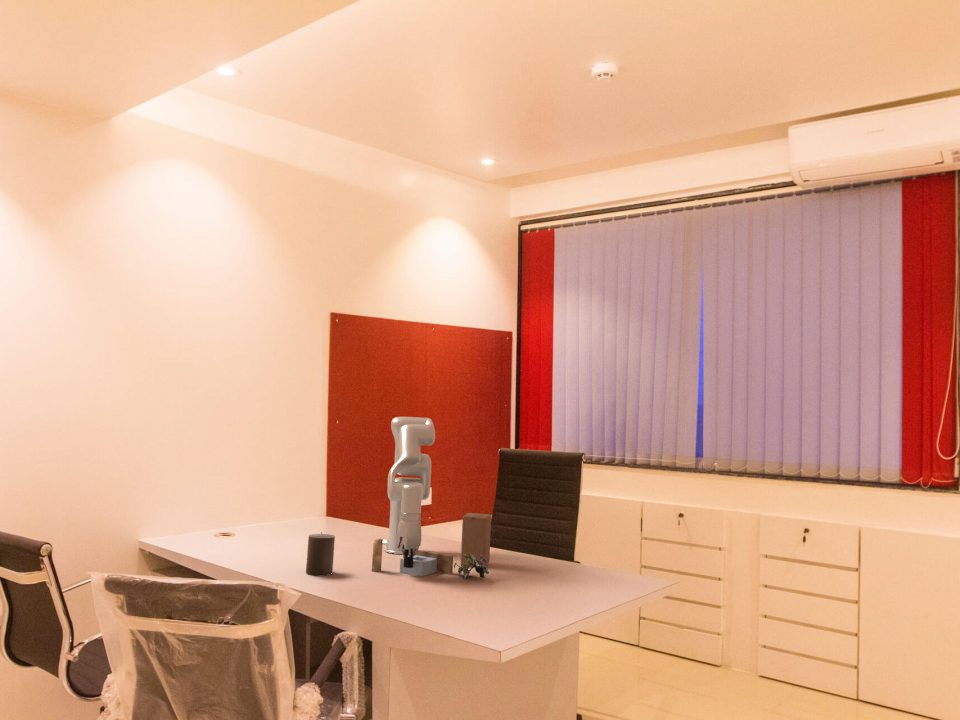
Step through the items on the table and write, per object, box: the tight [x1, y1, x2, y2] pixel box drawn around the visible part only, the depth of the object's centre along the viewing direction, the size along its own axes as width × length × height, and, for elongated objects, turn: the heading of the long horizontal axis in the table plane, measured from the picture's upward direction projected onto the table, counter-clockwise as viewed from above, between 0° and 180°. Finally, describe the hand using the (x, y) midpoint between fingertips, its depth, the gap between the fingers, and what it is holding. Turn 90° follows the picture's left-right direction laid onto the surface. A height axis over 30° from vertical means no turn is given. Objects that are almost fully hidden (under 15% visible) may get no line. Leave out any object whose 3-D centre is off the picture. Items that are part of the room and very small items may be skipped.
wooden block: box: [459, 512, 492, 568], centre depth 311 cm, size 10×10×20 cm
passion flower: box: [453, 553, 490, 580], centre depth 286 cm, size 11×11×12 cm
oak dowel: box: [371, 538, 384, 573], centre depth 291 cm, size 4×4×12 cm
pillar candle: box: [305, 532, 336, 576], centre depth 285 cm, size 10×10×15 cm
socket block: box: [399, 555, 438, 577], centre depth 292 cm, size 10×10×5 cm
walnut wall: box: [402, 549, 454, 575], centre depth 297 cm, size 22×2×7 cm, turn 59°
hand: (408, 567), depth 286 cm, fingers closed
